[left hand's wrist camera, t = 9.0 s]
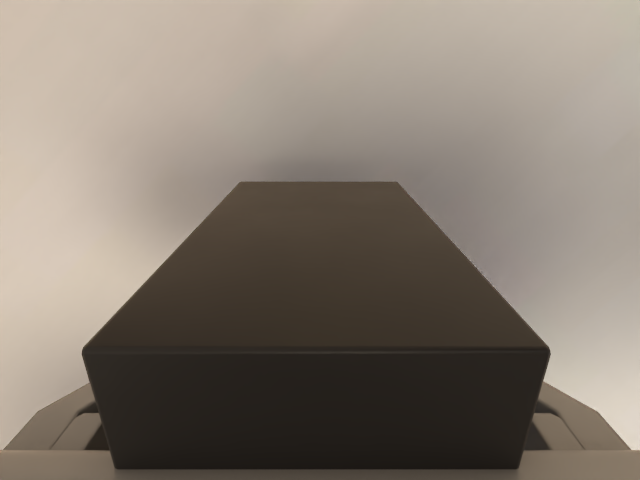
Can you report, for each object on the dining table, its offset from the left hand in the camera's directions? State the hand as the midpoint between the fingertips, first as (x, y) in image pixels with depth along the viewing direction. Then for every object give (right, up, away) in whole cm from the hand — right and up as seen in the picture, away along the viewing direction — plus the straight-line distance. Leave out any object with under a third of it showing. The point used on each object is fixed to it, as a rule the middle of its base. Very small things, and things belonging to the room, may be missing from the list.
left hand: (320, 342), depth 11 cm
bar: (0, -7, +7) cm, 10 cm away
